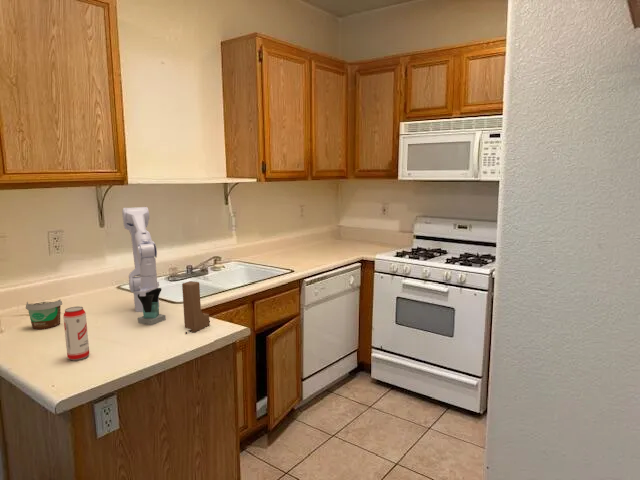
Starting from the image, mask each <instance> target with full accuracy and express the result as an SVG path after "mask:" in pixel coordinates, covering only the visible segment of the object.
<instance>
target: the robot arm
mask: <svg viewBox="0 0 640 480" xmlns="http://www.w3.org/2000/svg"><path fill="white" fill-rule="evenodd" d="M121 210H122V211H121V214H122V215H121V217H122V221H123V223H122V224H123V227H124V229H125V230H127V231H129V233H130V238H131V248H132V256H133V264H134V269H132V270H131V272H130V273H129V274H128V286H129V291H130V292H131V293H133V301H134V304H133V305H134V311H135V313H143V308H144V311H145V312H151V310H152V302H158V304H159V305H160V298H159V297H160V295H161V292H162V287H160V282H159V281H158V276H157V262H156V261H157V260H156V258H157V257H158V250H157V245H156V243H155V241H153V239H152V235H151V232H150V231H148V230H147V228H148V226H149V220H150V211H149V208H148V206H141V207H140V206H139V207H138V206H137V207H123V208H122V209H121Z"/></svg>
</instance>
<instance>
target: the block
mask: <svg viewBox="0 0 640 480" xmlns="http://www.w3.org/2000/svg"><path fill="white" fill-rule="evenodd" d="M159 314H160V303H159V304H158V302H152V310H151V312H145V311H144V308H143V312H142V316H143V318H156V317H157V316H158V315H159Z"/></svg>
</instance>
